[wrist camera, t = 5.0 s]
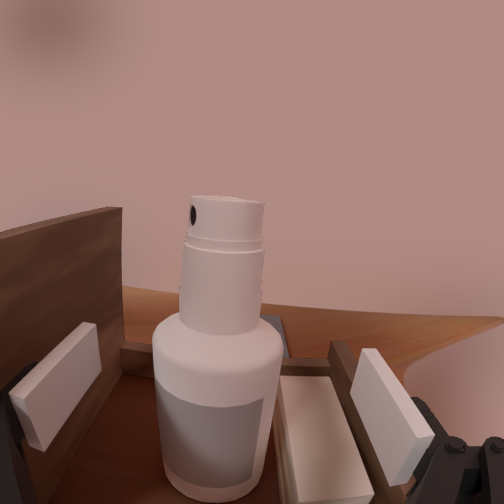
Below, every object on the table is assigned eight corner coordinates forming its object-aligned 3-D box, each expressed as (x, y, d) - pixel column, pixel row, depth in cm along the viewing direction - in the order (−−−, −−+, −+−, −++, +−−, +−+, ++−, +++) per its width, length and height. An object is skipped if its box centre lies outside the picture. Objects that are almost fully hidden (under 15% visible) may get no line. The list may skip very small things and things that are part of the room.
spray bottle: (152, 446, 20) (141, 191, 16) (234, 429, 23) (255, 196, 19) (184, 516, 14) (176, 201, 10) (280, 485, 17) (333, 210, 14)
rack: (0, 548, 6) (-148, 283, 3) (114, 363, 30) (107, 206, 27) (414, 592, 7) (612, 354, 4) (335, 382, 31) (365, 228, 27)
